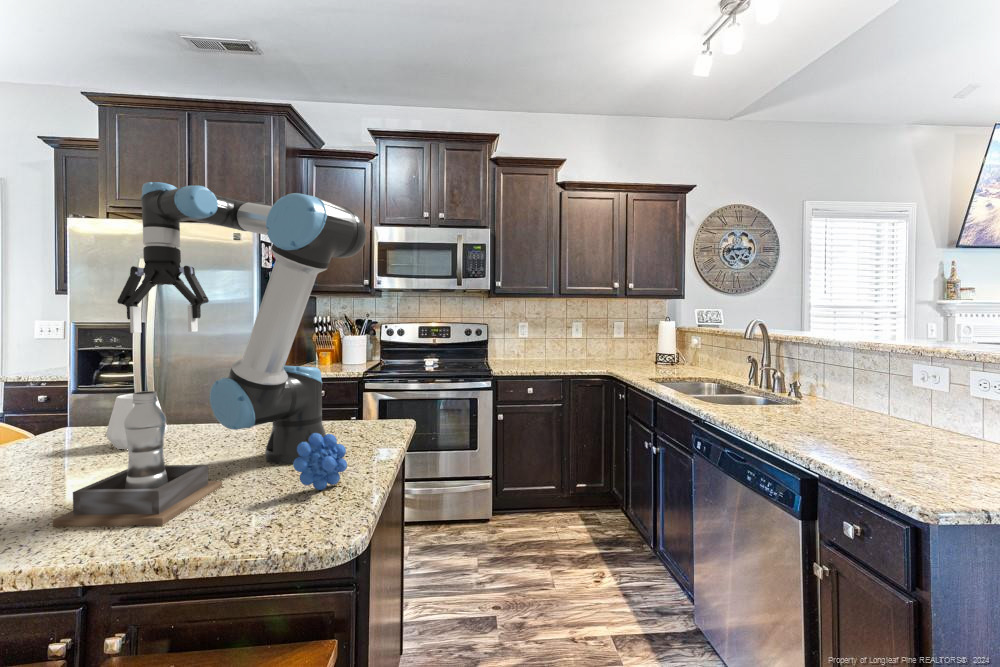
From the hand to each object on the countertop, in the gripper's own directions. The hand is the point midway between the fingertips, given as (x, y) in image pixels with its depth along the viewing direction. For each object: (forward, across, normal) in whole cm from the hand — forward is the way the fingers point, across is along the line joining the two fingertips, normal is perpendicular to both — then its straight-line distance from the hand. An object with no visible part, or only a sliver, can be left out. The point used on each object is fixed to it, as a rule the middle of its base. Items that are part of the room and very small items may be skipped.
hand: (164, 332), depth 116 cm
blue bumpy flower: (+34, -46, +25) cm, 62 cm away
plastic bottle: (+32, -14, +30) cm, 46 cm away
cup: (+31, +16, -13) cm, 38 cm away
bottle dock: (+33, -14, +30) cm, 46 cm away
